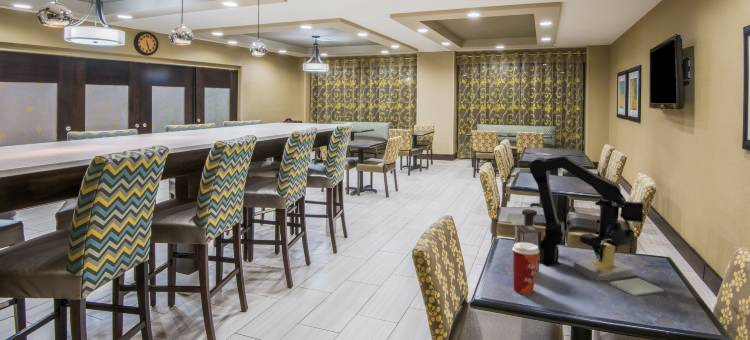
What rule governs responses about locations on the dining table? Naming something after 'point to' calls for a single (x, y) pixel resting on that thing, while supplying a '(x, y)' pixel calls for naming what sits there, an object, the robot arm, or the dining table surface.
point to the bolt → (529, 216)
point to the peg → (607, 257)
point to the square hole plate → (604, 270)
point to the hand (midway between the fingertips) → (604, 261)
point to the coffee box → (529, 239)
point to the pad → (636, 286)
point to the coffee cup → (524, 266)
